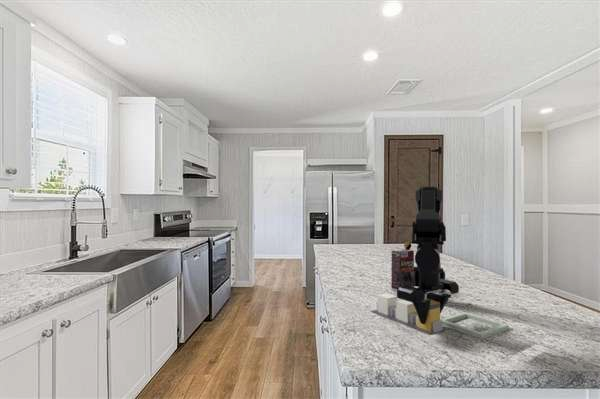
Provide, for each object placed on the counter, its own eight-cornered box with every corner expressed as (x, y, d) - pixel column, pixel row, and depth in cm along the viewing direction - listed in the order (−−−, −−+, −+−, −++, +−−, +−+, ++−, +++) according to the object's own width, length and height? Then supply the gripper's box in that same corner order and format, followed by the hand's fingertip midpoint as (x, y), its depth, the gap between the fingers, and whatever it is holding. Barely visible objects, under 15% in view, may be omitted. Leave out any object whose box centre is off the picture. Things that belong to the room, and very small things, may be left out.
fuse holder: (388, 311, 107) (388, 299, 107) (449, 334, 88) (449, 319, 88) (369, 316, 103) (369, 303, 103) (430, 341, 84) (430, 325, 84)
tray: (464, 320, 99) (464, 311, 99) (508, 334, 88) (508, 324, 88) (438, 328, 92) (438, 319, 92) (482, 344, 82) (482, 334, 82)
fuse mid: (406, 316, 98) (405, 299, 98) (417, 320, 95) (416, 302, 95) (396, 318, 96) (396, 301, 96) (407, 322, 93) (407, 305, 93)
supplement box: (400, 292, 129) (400, 252, 129) (390, 290, 133) (390, 250, 133) (414, 289, 134) (414, 250, 134) (405, 287, 138) (404, 248, 138)
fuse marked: (427, 323, 92) (427, 298, 92) (440, 328, 88) (440, 302, 88) (417, 326, 90) (417, 300, 90) (430, 331, 86) (430, 304, 86)
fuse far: (387, 309, 105) (387, 293, 105) (396, 312, 101) (396, 296, 101) (378, 311, 103) (377, 295, 103) (387, 315, 99) (387, 298, 99)
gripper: (425, 256, 101) (426, 308, 101) (381, 262, 91) (381, 319, 91) (459, 262, 92) (460, 318, 91) (414, 269, 82) (414, 333, 82)
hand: (428, 322), depth 89 cm, fingers open, 5 cm apart
